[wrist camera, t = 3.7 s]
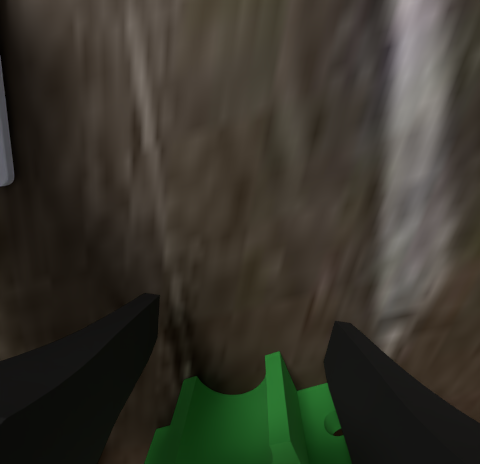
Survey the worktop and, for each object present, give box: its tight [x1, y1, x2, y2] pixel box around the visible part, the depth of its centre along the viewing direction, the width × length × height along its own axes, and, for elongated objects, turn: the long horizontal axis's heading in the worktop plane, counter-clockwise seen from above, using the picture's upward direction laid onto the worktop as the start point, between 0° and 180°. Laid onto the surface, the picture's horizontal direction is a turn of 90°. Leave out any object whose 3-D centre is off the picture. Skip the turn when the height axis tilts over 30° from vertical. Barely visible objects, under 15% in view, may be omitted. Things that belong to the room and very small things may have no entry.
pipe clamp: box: [144, 351, 352, 464], centre depth 13 cm, size 11×4×5 cm, turn 112°
